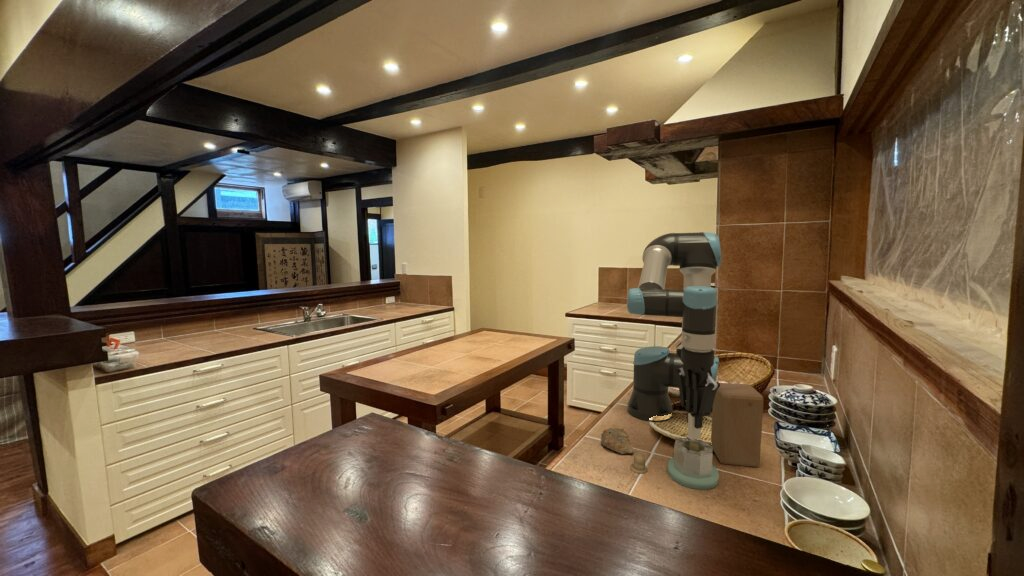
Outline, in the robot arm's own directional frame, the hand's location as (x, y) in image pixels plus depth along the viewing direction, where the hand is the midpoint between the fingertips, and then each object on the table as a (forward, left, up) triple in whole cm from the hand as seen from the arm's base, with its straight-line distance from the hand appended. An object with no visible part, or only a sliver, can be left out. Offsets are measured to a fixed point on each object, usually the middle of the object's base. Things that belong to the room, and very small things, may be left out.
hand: (693, 437), depth 101 cm
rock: (-8, -20, -11) cm, 24 cm away
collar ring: (0, 0, -8) cm, 8 cm away
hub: (0, 0, -10) cm, 10 cm away
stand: (+2, -13, -10) cm, 17 cm away
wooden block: (-14, +11, -11) cm, 21 cm away
